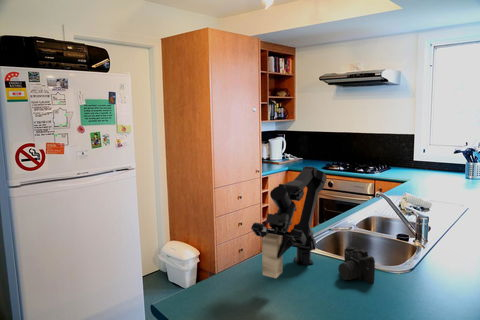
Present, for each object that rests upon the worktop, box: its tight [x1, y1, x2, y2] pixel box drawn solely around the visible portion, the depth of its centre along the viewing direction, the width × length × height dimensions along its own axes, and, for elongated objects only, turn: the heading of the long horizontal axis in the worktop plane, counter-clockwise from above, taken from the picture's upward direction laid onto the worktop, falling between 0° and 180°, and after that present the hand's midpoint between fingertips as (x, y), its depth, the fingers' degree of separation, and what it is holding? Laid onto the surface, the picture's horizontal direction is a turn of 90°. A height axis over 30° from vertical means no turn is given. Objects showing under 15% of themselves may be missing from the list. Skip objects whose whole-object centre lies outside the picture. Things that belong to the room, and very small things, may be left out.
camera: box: [338, 246, 376, 284], centre depth 133 cm, size 14×11×10 cm
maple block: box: [261, 233, 283, 279], centre depth 121 cm, size 5×5×13 cm
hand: (270, 256), depth 120 cm, fingers closed on maple block, 5 cm apart
